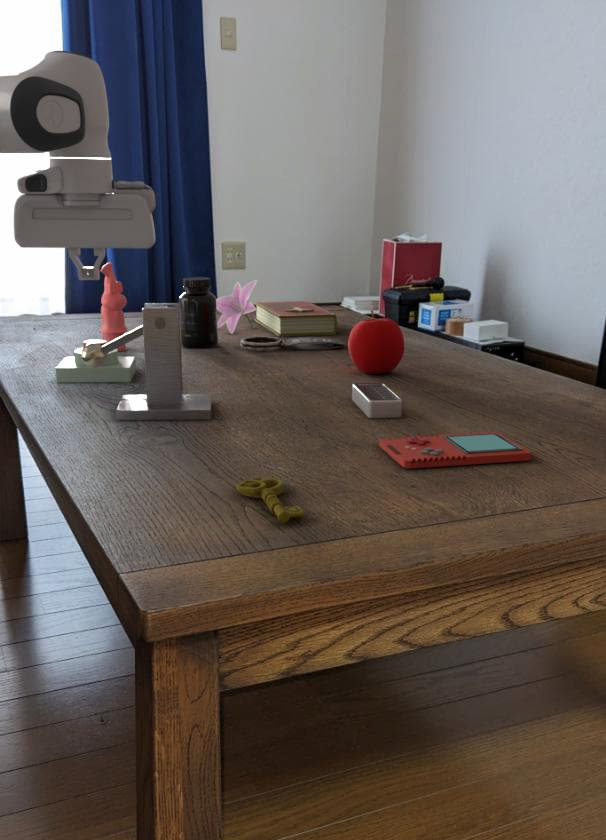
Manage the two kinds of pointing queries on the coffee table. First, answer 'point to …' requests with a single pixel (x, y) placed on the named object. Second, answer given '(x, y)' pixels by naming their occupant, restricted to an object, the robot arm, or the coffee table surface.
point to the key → (269, 496)
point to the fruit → (376, 345)
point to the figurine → (112, 307)
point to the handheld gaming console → (454, 450)
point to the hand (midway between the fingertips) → (89, 279)
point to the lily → (235, 305)
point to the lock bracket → (163, 372)
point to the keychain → (290, 343)
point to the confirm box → (96, 369)
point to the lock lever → (106, 348)
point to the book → (295, 318)
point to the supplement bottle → (198, 314)
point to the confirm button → (101, 342)
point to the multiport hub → (376, 400)
